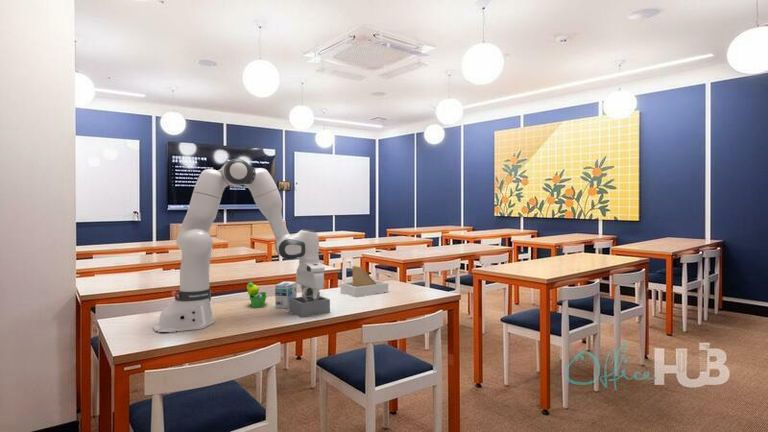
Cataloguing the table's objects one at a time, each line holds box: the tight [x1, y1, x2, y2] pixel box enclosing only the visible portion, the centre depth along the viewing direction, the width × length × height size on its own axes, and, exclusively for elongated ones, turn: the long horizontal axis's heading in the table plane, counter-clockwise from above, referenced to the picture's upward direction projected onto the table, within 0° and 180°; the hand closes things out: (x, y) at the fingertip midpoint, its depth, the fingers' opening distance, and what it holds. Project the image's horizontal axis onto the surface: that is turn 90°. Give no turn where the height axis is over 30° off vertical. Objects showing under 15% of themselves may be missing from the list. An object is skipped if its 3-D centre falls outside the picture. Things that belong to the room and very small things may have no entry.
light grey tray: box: [340, 278, 389, 298], centre depth 249 cm, size 21×15×5 cm
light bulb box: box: [274, 280, 298, 309], centre depth 218 cm, size 11×7×11 cm, turn 169°
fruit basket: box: [246, 282, 267, 309], centre depth 219 cm, size 11×9×11 cm
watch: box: [301, 287, 321, 302], centre depth 206 cm, size 6×8×11 cm
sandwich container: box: [351, 265, 376, 287], centre depth 249 cm, size 9×15×15 cm, turn 130°
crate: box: [288, 295, 331, 319], centre depth 206 cm, size 14×12×6 cm
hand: (309, 296), depth 206 cm, fingers open, 8 cm apart
